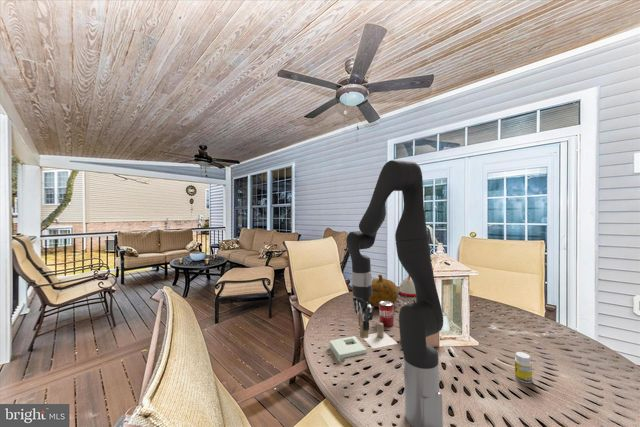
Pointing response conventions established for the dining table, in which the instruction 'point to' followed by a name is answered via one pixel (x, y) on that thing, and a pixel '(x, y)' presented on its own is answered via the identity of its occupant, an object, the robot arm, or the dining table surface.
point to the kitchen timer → (407, 287)
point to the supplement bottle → (523, 367)
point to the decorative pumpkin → (383, 291)
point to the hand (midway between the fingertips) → (364, 328)
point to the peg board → (347, 348)
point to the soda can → (386, 313)
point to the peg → (362, 333)
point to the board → (379, 338)
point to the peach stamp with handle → (433, 340)
